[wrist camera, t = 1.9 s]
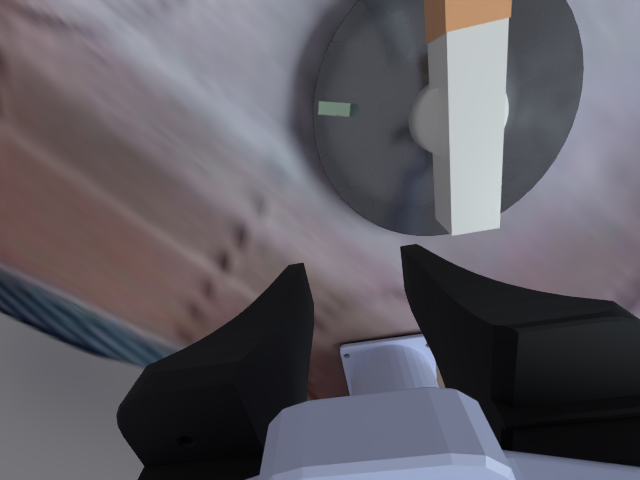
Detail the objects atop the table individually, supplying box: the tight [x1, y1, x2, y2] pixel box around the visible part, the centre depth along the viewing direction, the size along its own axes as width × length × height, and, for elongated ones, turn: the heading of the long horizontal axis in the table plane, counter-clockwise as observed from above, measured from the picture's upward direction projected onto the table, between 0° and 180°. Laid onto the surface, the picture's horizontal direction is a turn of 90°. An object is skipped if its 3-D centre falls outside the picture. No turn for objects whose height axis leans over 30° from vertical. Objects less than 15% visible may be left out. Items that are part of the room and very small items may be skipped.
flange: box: [313, 0, 584, 236], centre depth 18 cm, size 15×15×2 cm
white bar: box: [408, 0, 512, 236], centre depth 15 cm, size 11×4×4 cm, turn 11°
